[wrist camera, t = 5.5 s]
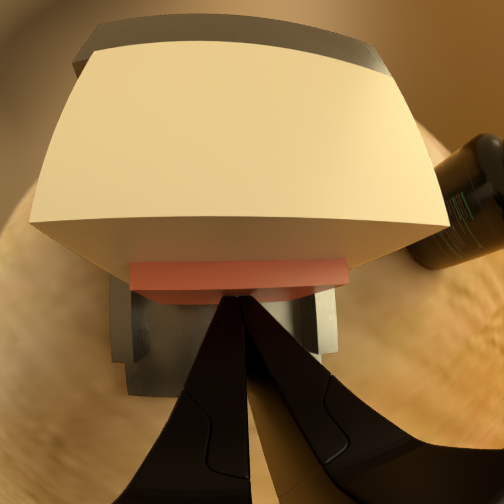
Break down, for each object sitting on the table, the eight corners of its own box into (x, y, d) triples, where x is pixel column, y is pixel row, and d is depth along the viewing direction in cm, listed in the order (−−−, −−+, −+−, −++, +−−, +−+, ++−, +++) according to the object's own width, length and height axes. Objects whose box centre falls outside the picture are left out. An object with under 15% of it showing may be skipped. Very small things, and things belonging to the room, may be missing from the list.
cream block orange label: (293, 303, 14) (456, 256, 4) (150, 307, 12) (22, 264, 3) (285, 216, 15) (392, 77, 5) (152, 216, 13) (93, 51, 4)
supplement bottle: (426, 178, 19) (523, 103, 8) (462, 249, 18) (571, 200, 7) (379, 201, 18) (506, 101, 6) (422, 288, 16) (570, 241, 5)
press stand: (316, 381, 14) (456, 434, 4) (131, 391, 12) (32, 482, 2) (297, 167, 17) (372, 45, 7) (137, 164, 15) (98, 24, 6)
